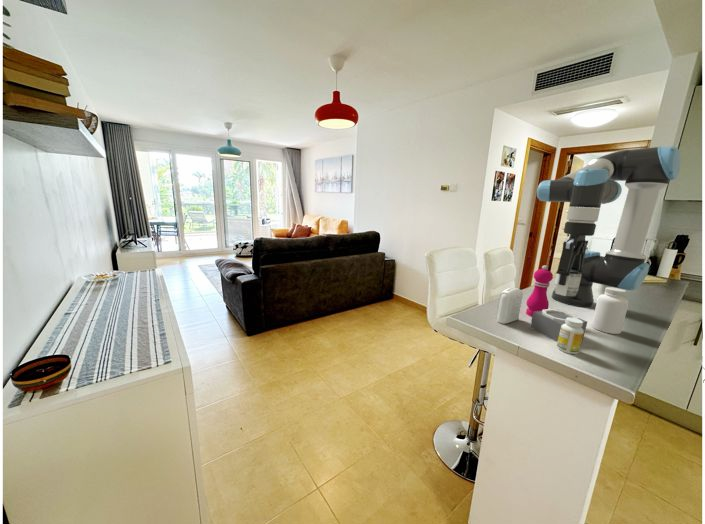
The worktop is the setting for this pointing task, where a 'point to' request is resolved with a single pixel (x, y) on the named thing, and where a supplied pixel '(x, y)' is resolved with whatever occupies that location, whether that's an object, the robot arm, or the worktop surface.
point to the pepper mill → (539, 291)
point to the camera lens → (571, 283)
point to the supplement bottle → (570, 336)
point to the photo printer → (509, 305)
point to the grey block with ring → (551, 322)
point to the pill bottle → (610, 311)
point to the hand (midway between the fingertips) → (564, 292)
